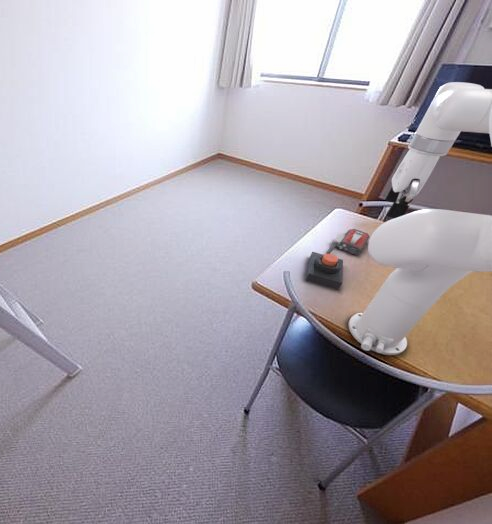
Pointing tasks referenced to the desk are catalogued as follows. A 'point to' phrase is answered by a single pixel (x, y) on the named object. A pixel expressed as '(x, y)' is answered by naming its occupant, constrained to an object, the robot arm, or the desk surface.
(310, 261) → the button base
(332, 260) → the pump button
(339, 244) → the walkie-talkie
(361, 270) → the desk surface
